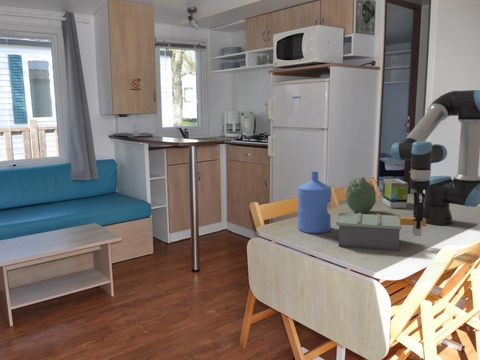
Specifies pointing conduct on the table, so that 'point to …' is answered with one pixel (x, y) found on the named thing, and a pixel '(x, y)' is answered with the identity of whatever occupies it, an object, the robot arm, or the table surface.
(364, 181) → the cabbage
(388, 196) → the tea box
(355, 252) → the table surface
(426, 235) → the table surface
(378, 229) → the parts tub
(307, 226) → the water jug
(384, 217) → the lid
